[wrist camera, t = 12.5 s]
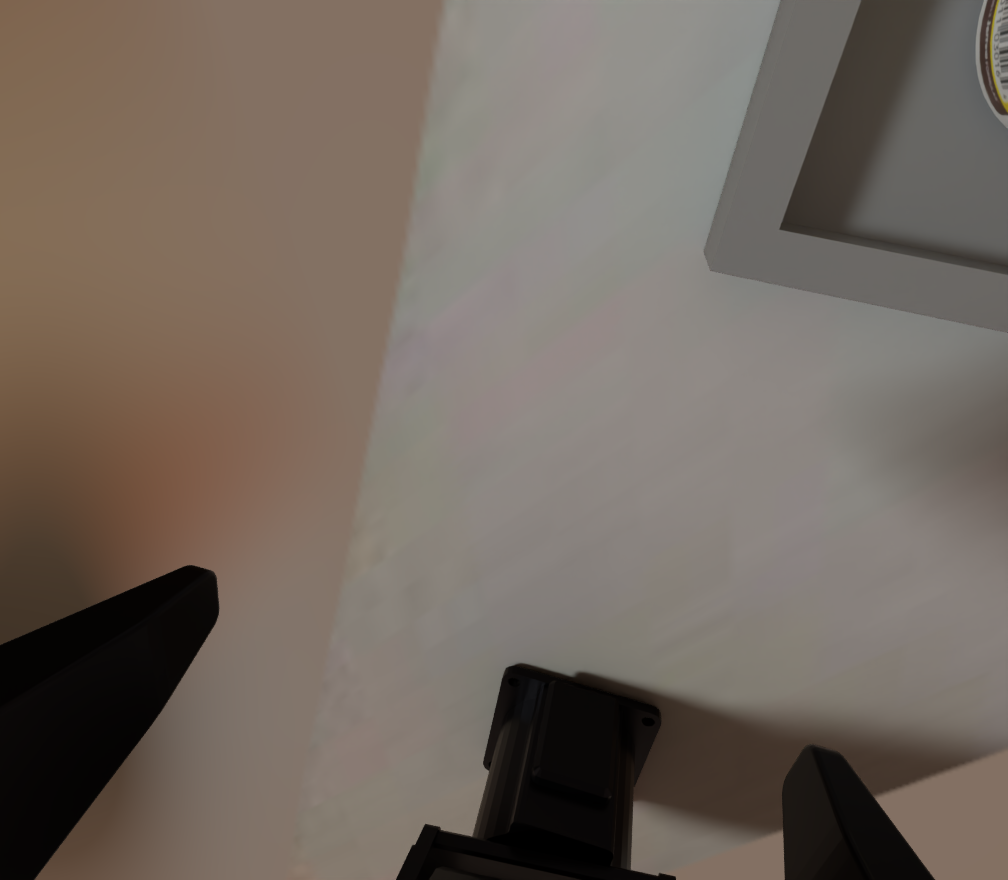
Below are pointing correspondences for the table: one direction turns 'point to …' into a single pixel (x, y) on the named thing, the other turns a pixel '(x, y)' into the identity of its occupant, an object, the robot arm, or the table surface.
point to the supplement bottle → (993, 56)
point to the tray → (872, 163)
